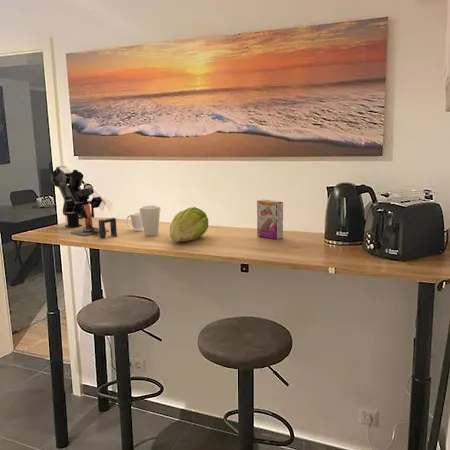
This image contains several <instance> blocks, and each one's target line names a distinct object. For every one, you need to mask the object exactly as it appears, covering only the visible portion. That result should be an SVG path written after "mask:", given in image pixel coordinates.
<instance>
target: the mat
mask: <svg viewBox="0 0 450 450" xmlns="http://www.w3.org/2000/svg"><path fill="white" fill-rule="evenodd" d="M95 228H98V227H95ZM108 232H110V230H109V229H106V233H108ZM70 234H74V235H78V236H81V237H86V236H91V235H96V234H98V233H94V232H83V229H79V230H75V231H74V230H73V231H70Z"/></svg>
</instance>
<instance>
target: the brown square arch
mask: <svg viewBox="0 0 450 450" xmlns="http://www.w3.org/2000/svg"><path fill="white" fill-rule="evenodd" d="M97 221H98V228H99V234H98V235H99V239H106V235H107V234H106V235H105V227H106V225H105V224H106V223H109V224H110V236H111V237H117V236H118V234H117V233H118V232H117V230H118V229H117V219H116V217H109V218H108V217H107V218H101V219H98V220H97Z"/></svg>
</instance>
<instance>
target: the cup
mask: <svg viewBox="0 0 450 450" xmlns="http://www.w3.org/2000/svg"><path fill="white" fill-rule="evenodd" d="M129 218H130V220H131V225H132V226H131V225H130V224H129ZM126 224H127V227H129V229H131V230H132V231H134V232H141V231H144V229H143V224H142V219H141V213H140V212H133V213H131V214H129V215H127V217H126Z"/></svg>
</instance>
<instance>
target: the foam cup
mask: <svg viewBox="0 0 450 450" xmlns="http://www.w3.org/2000/svg"><path fill="white" fill-rule="evenodd" d="M139 213H141V219H142V224H143V228H142V229H143V233H144V236H146V237H147V236H148V237H151V236H152V237H154V236H157V235H159V229H160V216H161V206H160V205H156V204H155V205H154V204H149V205H142V206H139Z"/></svg>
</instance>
